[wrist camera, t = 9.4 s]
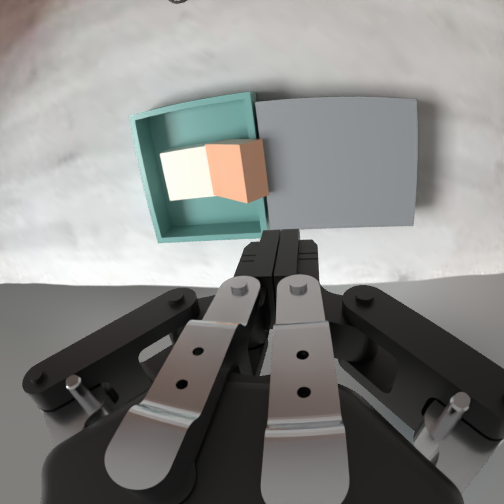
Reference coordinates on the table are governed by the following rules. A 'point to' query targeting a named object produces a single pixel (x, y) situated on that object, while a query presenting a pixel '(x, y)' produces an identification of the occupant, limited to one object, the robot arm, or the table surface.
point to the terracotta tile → (238, 169)
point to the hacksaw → (177, 1)
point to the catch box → (190, 133)
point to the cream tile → (187, 172)
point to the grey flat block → (340, 161)
